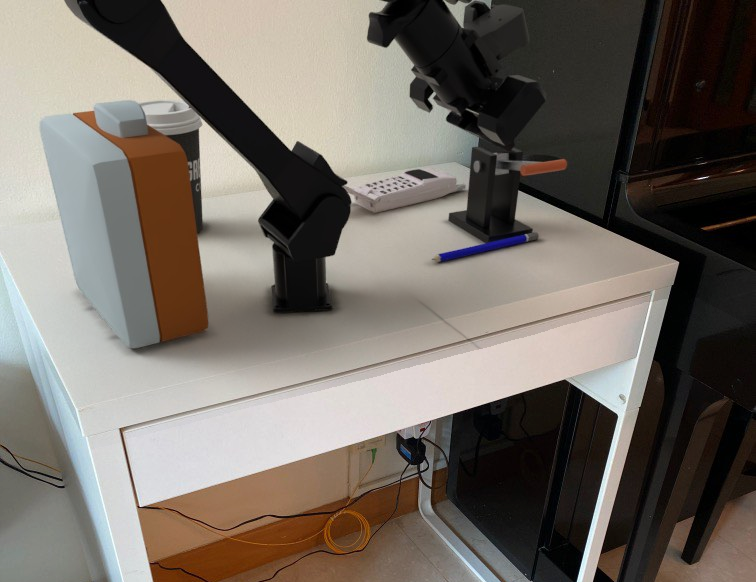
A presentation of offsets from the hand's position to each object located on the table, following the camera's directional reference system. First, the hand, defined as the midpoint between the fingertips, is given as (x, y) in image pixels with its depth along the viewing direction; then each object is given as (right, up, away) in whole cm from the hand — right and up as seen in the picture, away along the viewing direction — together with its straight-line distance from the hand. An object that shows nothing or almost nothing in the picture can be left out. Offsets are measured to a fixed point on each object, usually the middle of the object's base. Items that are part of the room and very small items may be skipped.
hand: (510, 148), depth 90 cm
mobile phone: (-13, +3, +25) cm, 28 cm away
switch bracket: (0, -3, +17) cm, 17 cm away
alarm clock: (-41, -20, -5) cm, 46 cm away
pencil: (-1, -9, +10) cm, 14 cm away
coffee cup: (-42, -4, +15) cm, 45 cm away
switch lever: (+2, 0, +8) cm, 9 cm away
